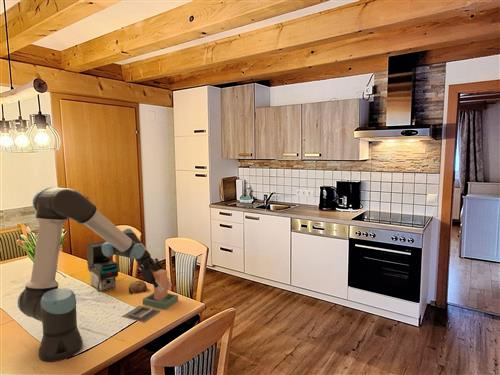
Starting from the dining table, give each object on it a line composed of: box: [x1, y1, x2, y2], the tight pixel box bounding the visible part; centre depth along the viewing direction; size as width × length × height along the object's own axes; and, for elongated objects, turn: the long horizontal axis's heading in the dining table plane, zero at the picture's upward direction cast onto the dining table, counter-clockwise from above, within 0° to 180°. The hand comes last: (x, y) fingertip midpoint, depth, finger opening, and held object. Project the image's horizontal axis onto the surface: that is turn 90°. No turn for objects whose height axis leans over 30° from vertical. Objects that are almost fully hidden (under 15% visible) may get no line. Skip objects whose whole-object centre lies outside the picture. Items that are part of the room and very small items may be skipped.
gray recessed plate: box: [120, 305, 162, 324], centre depth 155 cm, size 12×14×3 cm
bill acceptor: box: [86, 240, 119, 292], centre depth 188 cm, size 10×23×25 cm, turn 44°
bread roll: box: [127, 279, 148, 295], centre depth 183 cm, size 10×10×8 cm
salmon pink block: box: [152, 269, 169, 300], centre depth 166 cm, size 6×4×14 cm, turn 157°
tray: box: [142, 292, 179, 311], centre depth 167 cm, size 11×14×4 cm
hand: (166, 288), depth 165 cm, fingers closed on salmon pink block, 6 cm apart
